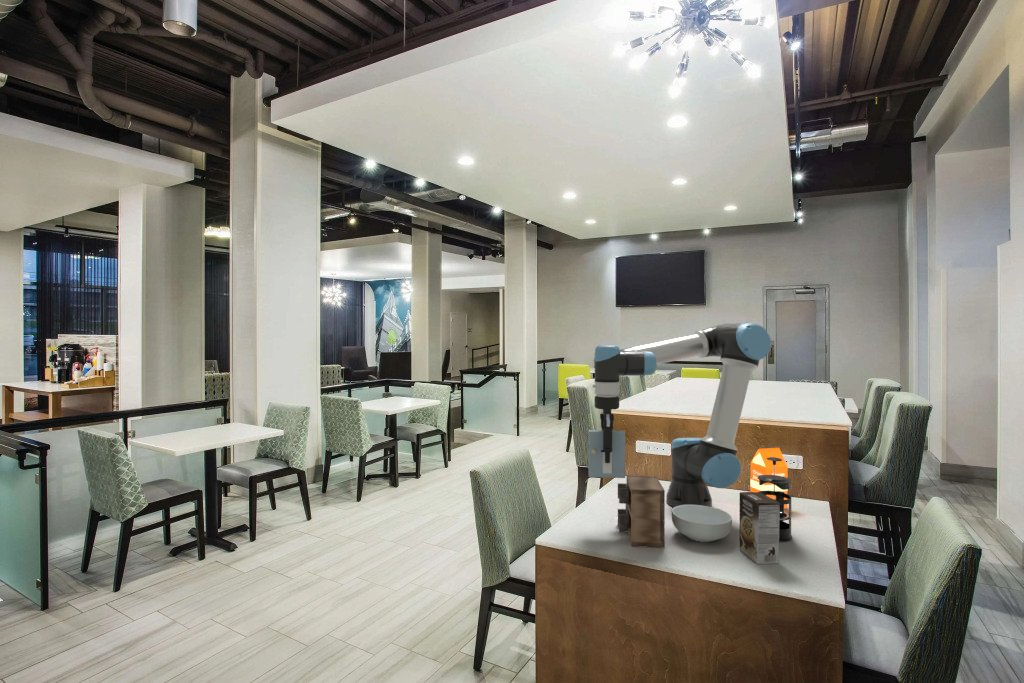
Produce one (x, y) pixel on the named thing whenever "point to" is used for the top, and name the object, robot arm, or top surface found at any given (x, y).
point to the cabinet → (642, 511)
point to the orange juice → (767, 470)
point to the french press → (779, 499)
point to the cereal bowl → (701, 522)
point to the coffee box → (759, 527)
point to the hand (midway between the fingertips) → (606, 471)
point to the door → (597, 455)
